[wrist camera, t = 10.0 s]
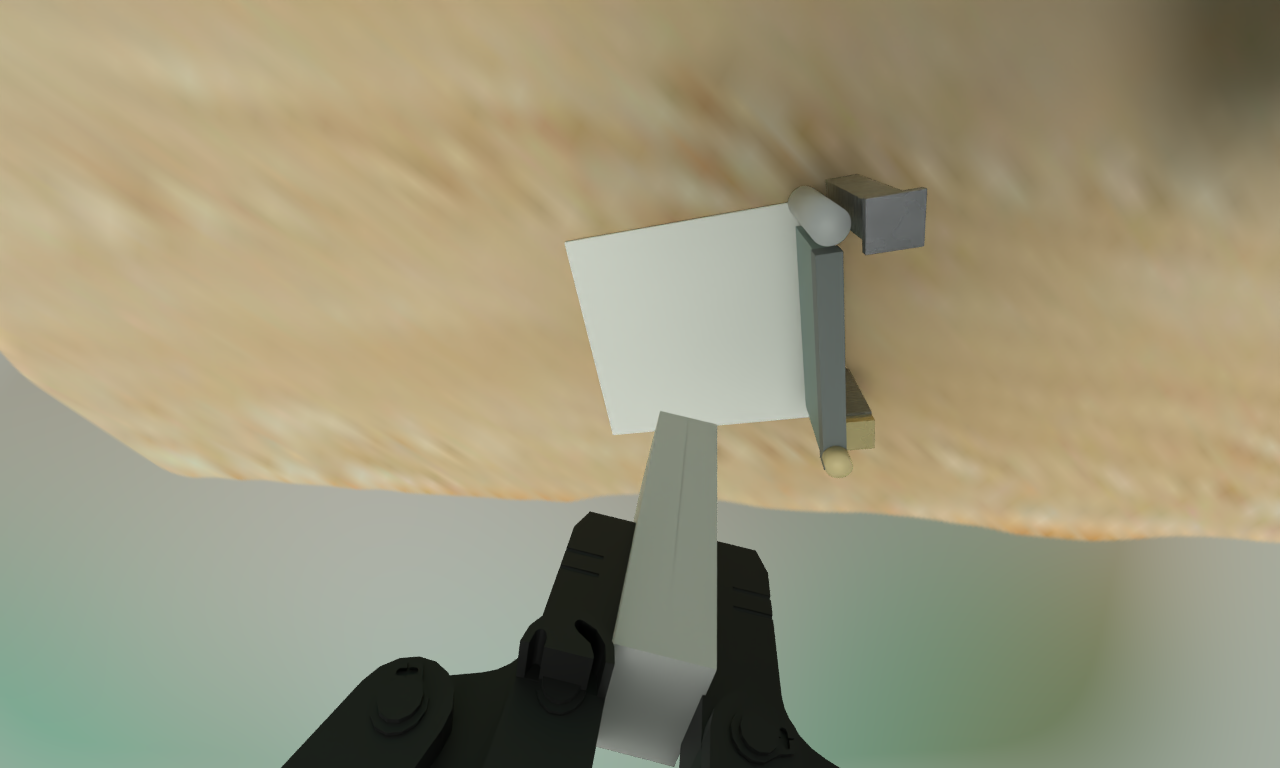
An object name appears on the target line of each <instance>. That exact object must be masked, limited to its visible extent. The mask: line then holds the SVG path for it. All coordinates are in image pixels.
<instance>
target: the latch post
mask: <svg viewBox="0 0 1280 768" xmlns="http://www.w3.org/2000/svg"><path fill="white" fill-rule="evenodd" d="M845 382H846V438H847V450H858V449H871V448H874V440H875V420H874V418H873V416H872V414H871V410H870V408H869V406H868V404H867V402H866V400H865V398H864V397H863V395H862V393H861V391H860V389H859V387H858V385H857V383H856V382H855V380H854V378H853V376H852V374H851V372H850V370H849V369H845Z"/></svg>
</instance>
